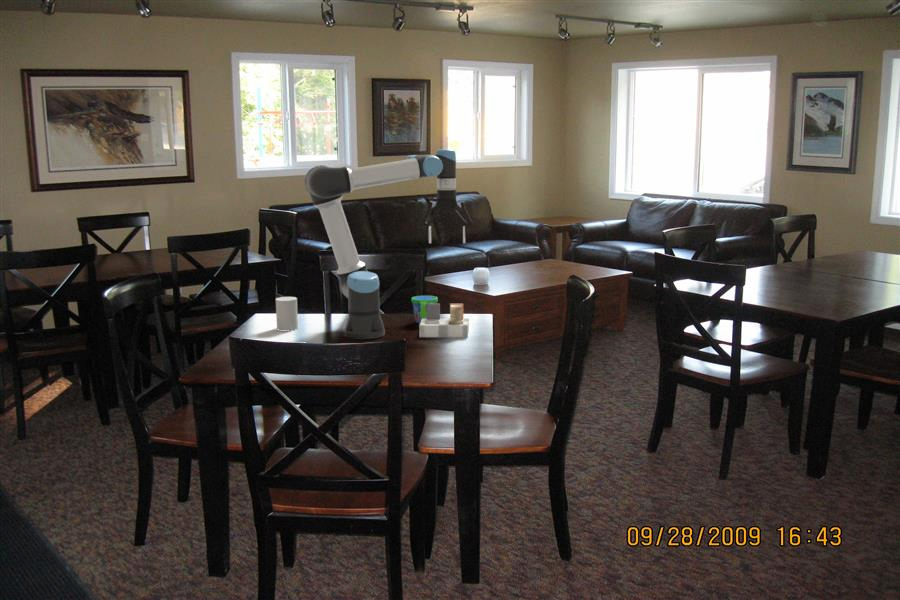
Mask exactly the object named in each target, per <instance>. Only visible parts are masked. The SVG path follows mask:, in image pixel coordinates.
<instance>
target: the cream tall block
mask: <svg viewBox="0 0 900 600" xmlns="http://www.w3.org/2000/svg"><path fill="white" fill-rule="evenodd" d="M450 312H451V324H453V325H461V305H451V306H450V305H449V313H450Z"/></svg>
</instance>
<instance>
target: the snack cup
mask: <svg viewBox="0 0 900 600" xmlns="http://www.w3.org/2000/svg"><path fill="white" fill-rule="evenodd" d="M438 301H439V299H438V296H436V295H435V296H434V295H416V296H412V297H411V303H412V308H413V314H414V319H415V320H414V321H415V323H417V324H420V322H421V320H422V318H427V304H438Z"/></svg>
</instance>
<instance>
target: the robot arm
mask: <svg viewBox="0 0 900 600" xmlns="http://www.w3.org/2000/svg"><path fill="white" fill-rule="evenodd" d="M456 174H457V157H456V151H455V149H437V150H436V153H435V154H413V155H412V154H410V155H408V156H407V157H406V159H402V160H396V161H391V162H390V161H389V162H385V163H384V162H383V163H379V164H371V165H367V166H359V167H354V168H348V167H347V166H342V167H328V166H327V165H324V164H323V165H316V166H314V167H311V168H310V169H309V170H308V171H307V173H306V174H305V176H304V177H305V178H304V186H305V189H306V191H307V192H308V193H309V196H310V200H311V202H312V206H314V207H315V208H317V209H318V211H319V213H320V216H321V219H322V223H323V224H324V225H323V226H324V228H325V231H326V233H327V237H328V239H329V242H330V246H331V248H332V251H333V254H334V257H335V261H336V263H337V266H338V268H337V271H336V272H335V273H336V275H337V278H338V281H339V288H340V291H341V293H342V295H343V296H344V297H346V298H347V300H348V303H347V304H348V316H347V320H346V325H345V328H344V337H345V336H346V338H347V337H349V338H348V339H351V338H353V339H352V340H373V339H378V338H381V337H384V336H385V335H386V331H385V330H386V328H385V325H384V322H383V320H382V318H381V311H380V279H379V276H378V274H377V273H374V272H371V271H368V268H367V266H366V262H364V261H361V260H360V255H359V254H358V251H357V247H356V245H355V241H354V239H353V236H352V235H353V234H352V233H351V229H350V226H349V223H348V221H347V217H346V214H345V211H344V209H343V205H342V199H343V198H344V195H347V194H350V193H352V192H353V191H354V190H359V189H364V188H370V187H376V186H381V185H387V184H392V183H398V182H403V181H410V180H416V179H422V178H429V177H430V178H434V177H436V188H437V190H436V202H434V201H429V202H428V208H427V210H426V212H425V215H424V216H423V218H422V220H421V223H420V225H422V226H424V227H425V235H427V236H428V244H432V226H431V224H432V222H434V220H435V219H436V218H437V217H438V215H439V214H440V213H442V214H446V213H447V214H451V213H453V214H454V215H455V217H457V218H458V220H459V221H460V222H461V223H462V225H464V226H462V243H463V244H466V236H468V234H469V226H472V225H473V221H472V219H471V217H470V214H469V213H468V210H467V209H466V206H465V201H464V200H463V201H459V202H457V190H456V189H457V175H456ZM435 206H436V207H437V210H436V211H435V213H434V214H433V215H432V216H431V218H430V219H429V220H428V217H429V216H430V213H431V211H432V209H433V208H435ZM457 207H459V208H461V210H462V212H463V215H464V217H465V218H466V220H465V219H464V217H463V216H462V215H461V214H460V213H459V211H457V209H456V208H457ZM427 220H428V222H427Z"/></svg>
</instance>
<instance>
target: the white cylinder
mask: <svg viewBox="0 0 900 600" xmlns="http://www.w3.org/2000/svg"><path fill="white" fill-rule="evenodd" d="M275 312H276V316H275V317H276V330H277V329H279V330H293V331H296V330H295V329H297V330H298V329H299V319H298V297H296V296H280V297H276V298H275ZM279 330H278V331H279Z"/></svg>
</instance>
